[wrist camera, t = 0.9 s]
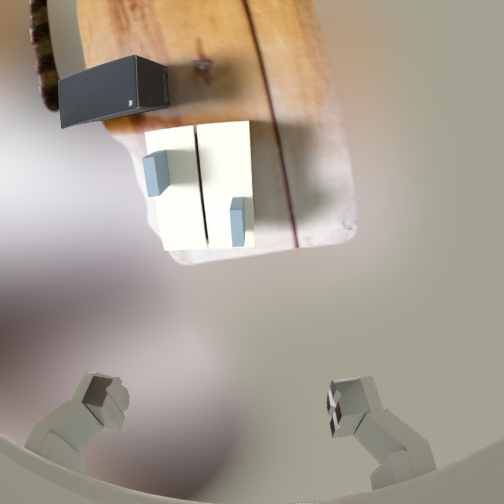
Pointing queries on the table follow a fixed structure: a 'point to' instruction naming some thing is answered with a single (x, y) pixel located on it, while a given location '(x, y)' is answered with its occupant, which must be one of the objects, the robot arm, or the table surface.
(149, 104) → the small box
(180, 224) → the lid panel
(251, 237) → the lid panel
